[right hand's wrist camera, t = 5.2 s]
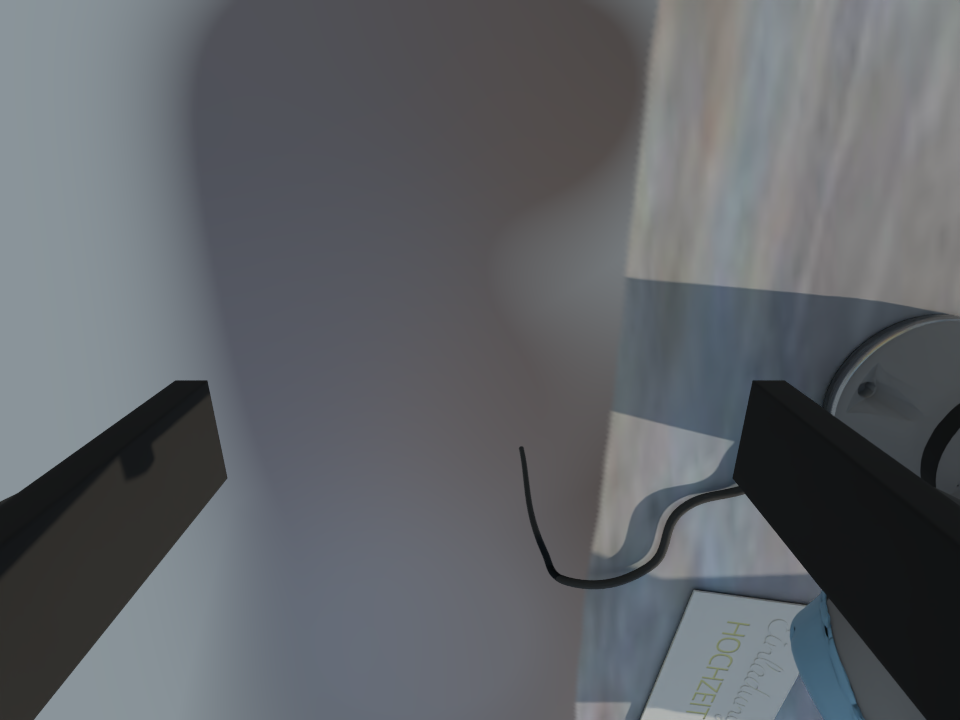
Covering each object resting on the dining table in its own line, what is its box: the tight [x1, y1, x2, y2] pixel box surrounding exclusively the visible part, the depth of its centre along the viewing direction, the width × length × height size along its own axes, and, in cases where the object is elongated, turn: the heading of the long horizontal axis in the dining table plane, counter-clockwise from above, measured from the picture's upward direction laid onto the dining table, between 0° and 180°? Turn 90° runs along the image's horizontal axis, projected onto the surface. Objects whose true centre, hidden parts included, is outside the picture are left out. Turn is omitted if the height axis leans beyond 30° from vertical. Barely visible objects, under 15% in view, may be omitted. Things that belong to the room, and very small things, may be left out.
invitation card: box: [640, 590, 807, 720], centre depth 57 cm, size 21×1×15 cm
